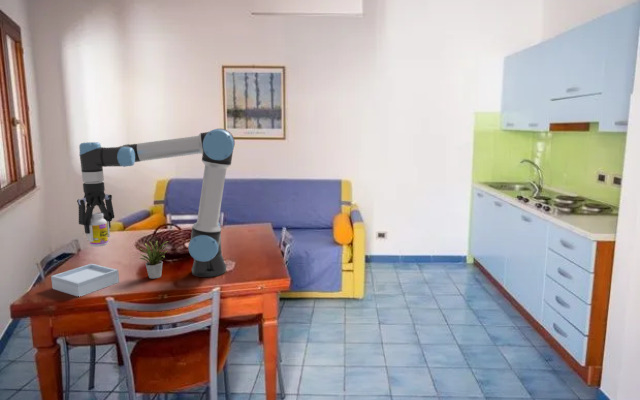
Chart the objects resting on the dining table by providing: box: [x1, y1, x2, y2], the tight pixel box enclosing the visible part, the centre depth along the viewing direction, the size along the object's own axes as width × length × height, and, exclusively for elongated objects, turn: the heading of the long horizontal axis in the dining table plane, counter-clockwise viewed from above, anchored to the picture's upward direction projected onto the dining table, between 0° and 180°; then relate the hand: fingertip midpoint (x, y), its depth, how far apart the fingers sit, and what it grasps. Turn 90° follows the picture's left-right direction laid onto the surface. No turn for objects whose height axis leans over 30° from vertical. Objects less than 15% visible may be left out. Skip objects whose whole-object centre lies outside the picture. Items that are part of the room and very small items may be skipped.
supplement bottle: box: [89, 212, 109, 248], centre depth 182 cm, size 7×7×13 cm
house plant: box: [136, 240, 169, 279], centre depth 199 cm, size 14×14×16 cm
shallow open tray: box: [50, 263, 120, 298], centre depth 190 cm, size 18×18×6 cm
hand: (99, 238), depth 182 cm, fingers closed on supplement bottle, 7 cm apart
